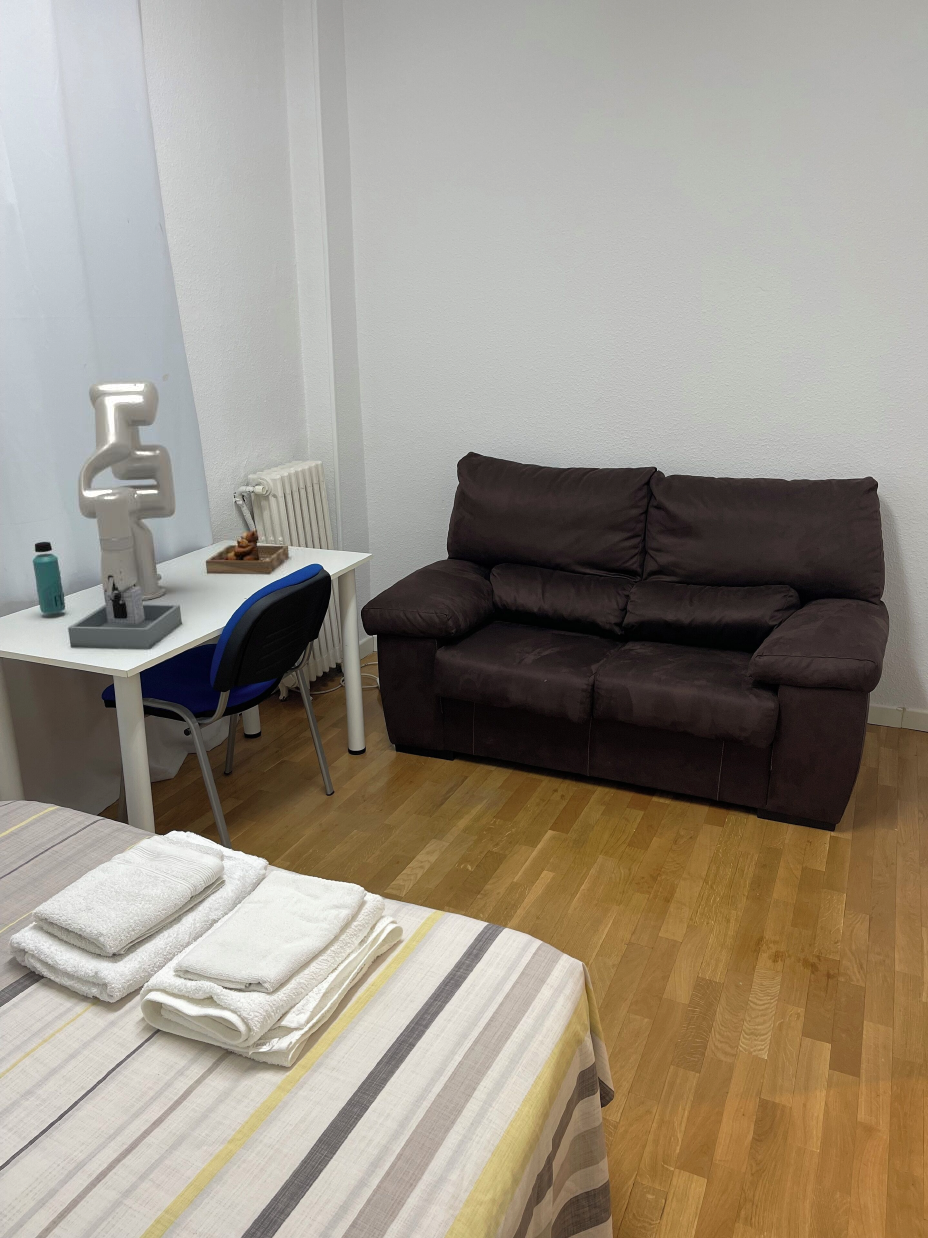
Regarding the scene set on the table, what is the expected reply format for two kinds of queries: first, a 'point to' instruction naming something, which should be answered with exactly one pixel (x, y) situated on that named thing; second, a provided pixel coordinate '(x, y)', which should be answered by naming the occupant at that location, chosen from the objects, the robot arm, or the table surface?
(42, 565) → the beverage bottle
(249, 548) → the bear figurine
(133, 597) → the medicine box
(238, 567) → the wooden tray
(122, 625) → the bin
